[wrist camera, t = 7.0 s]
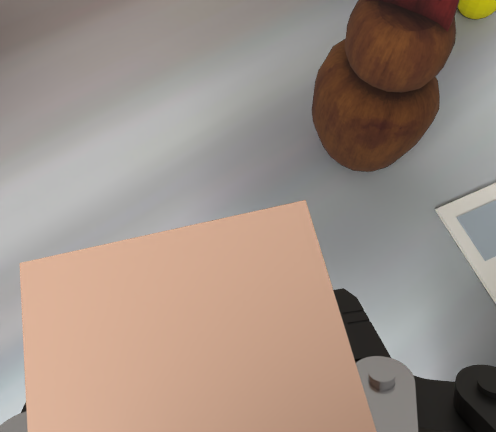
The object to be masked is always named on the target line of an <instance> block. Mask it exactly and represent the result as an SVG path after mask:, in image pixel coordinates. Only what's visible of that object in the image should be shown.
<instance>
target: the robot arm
mask: <svg viewBox="0 0 496 432" xmlns="http://www.w3.org/2000/svg"><path fill="white" fill-rule="evenodd" d="M333 291H334V294H335V298H336V301H337V304H338V307H339V311H340V314H341V317H342V320H343V324H344V327H345V330H346V334H347V337H348V340H349V343H350V347H351V350H352V353H353V356H354V360H355V363H356V366H357V369H358V373H359V376H360V379H361V382H362V386H363V389H364V392H365V395H366V399H367V402H368V405H369V408H370V412H371V415H372V418H373V422H374V425H375V428H376V431H377V432H496V367H493V366H488V365H473V366H469V367H466V368H464V369H462V370H461V371H460V372H459V373H458V374H457V377H456V381H455V382H449V381H438V380H429V379H424V378H420V377H417V376H414V375H413V374H412V372H411V371H410V370H409V369H408V368H407V367H406V366H405V365H404V364H403V363H401V362H399V361H397V360H395V359H392V358H391V357H390V355H389V353H388V351H387V350H386V348H385V346H384V344H383V343H382V341H381V339H380V337H379V336H378V334H377V332H376V330H375V329H374V327H373V325H372V323H371V322H370V321H369V318H368V316H367V315H366V313H365V312H364V309H363V308H362V306H361V304H360V302H359V301H358V299H357V298H356V297H355V296H354V295H352V294H351V293H349V292H348V291H347V290H345V289H337V290H333ZM0 432H28V429H27V408H26V403H25V405H24V407H23V409H22V412H21V413H20V414H18V415H16V416H14V417H12V418H10V419H8V420H7V421H6V422H4V423H3V424H2V425H0Z"/></svg>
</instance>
